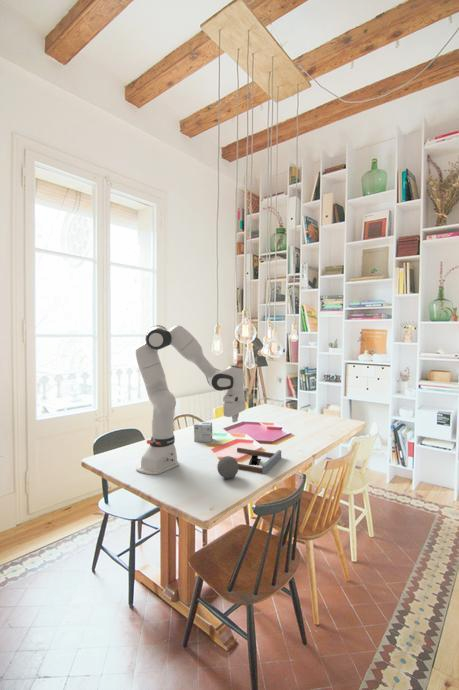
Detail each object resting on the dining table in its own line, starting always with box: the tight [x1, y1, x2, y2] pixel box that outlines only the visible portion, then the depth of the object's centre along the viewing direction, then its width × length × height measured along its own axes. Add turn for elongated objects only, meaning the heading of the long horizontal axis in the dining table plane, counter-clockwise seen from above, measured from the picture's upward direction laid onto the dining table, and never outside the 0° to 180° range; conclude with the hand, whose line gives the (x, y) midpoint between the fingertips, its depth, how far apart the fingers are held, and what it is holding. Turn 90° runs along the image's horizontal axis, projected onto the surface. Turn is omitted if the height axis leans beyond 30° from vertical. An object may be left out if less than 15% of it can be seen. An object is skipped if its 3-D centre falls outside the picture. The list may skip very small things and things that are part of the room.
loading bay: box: [236, 447, 282, 475], centre depth 193 cm, size 24×26×4 cm
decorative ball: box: [216, 455, 239, 480], centre depth 173 cm, size 10×10×10 cm
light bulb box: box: [193, 421, 213, 443], centre depth 228 cm, size 11×7×11 cm, turn 84°
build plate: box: [248, 453, 262, 466], centre depth 192 cm, size 12×7×5 cm, turn 169°
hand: (234, 421), depth 195 cm, fingers closed
